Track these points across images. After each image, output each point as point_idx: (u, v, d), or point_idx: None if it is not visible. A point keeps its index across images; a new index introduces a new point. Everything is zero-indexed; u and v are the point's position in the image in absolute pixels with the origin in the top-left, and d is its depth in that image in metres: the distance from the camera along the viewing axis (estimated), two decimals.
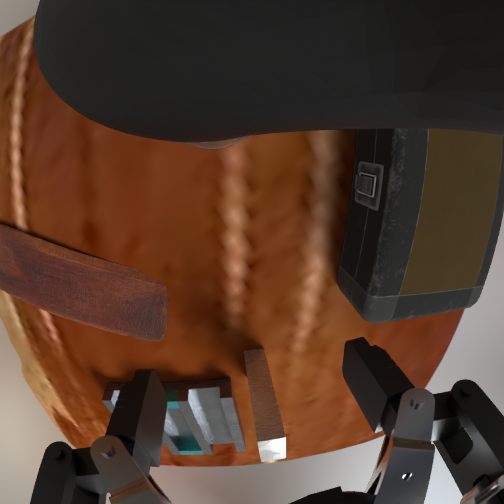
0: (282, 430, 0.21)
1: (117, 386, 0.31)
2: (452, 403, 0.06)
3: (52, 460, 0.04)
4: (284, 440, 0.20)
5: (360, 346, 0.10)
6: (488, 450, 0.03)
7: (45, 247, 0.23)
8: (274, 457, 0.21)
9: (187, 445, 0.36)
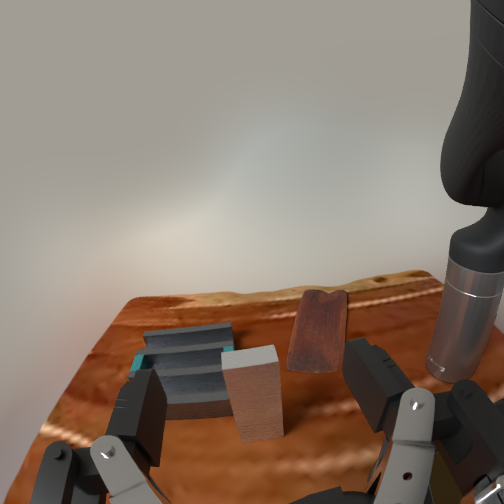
0: None
1: (233, 340, 0.46)
2: (452, 403, 0.06)
3: (52, 460, 0.04)
4: (271, 361, 0.23)
5: (360, 346, 0.10)
6: (488, 450, 0.03)
7: (343, 314, 0.49)
8: (229, 360, 0.23)
9: (144, 365, 0.38)
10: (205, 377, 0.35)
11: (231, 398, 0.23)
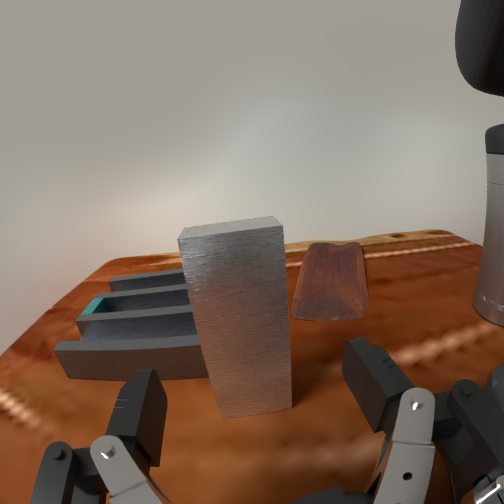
0: (283, 241, 0.13)
1: None
2: (452, 403, 0.06)
3: (52, 460, 0.04)
4: (270, 226, 0.13)
5: (360, 346, 0.10)
6: (488, 450, 0.03)
7: (360, 260, 0.40)
8: (195, 231, 0.14)
9: (102, 311, 0.28)
10: (175, 321, 0.25)
11: (196, 313, 0.14)
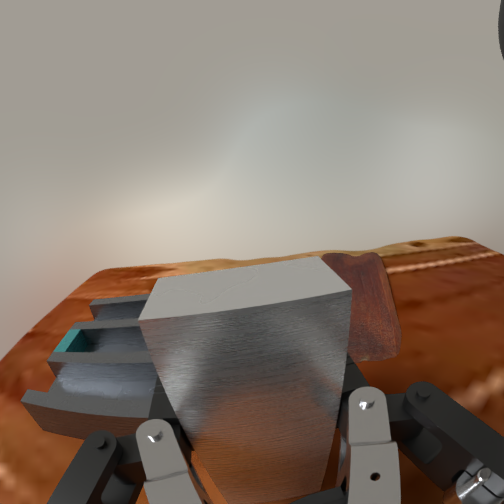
0: None
1: None
2: (409, 408, 0.06)
3: (92, 448, 0.05)
4: (327, 291, 0.06)
5: None
6: (460, 448, 0.04)
7: (384, 277, 0.33)
8: (175, 295, 0.07)
9: (79, 346, 0.22)
10: None
11: (188, 425, 0.07)
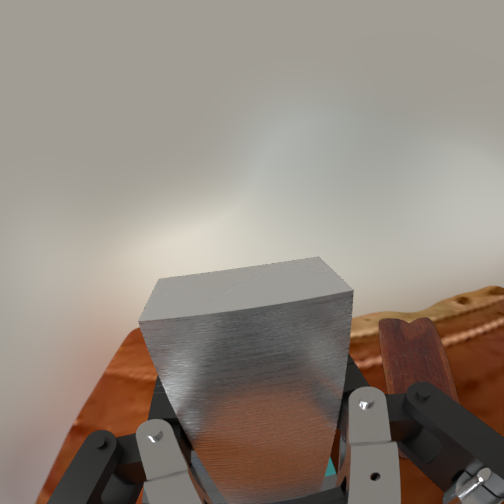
0: None
1: None
2: (409, 408, 0.06)
3: (92, 448, 0.05)
4: (328, 292, 0.06)
5: None
6: (460, 448, 0.04)
7: (443, 355, 0.29)
8: (175, 296, 0.07)
9: None
10: (286, 503, 0.14)
11: (188, 427, 0.07)
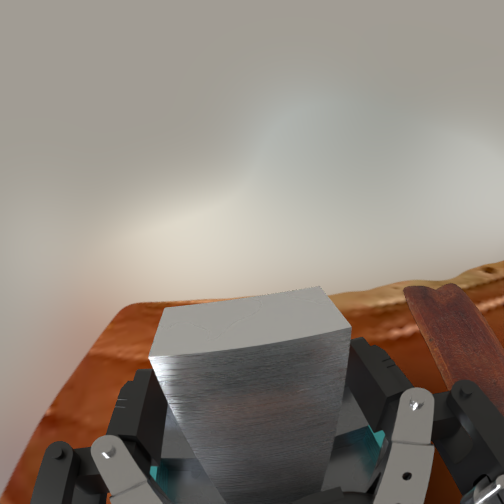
0: None
1: None
2: (451, 403, 0.06)
3: (53, 460, 0.04)
4: (328, 329, 0.06)
5: (359, 346, 0.10)
6: (488, 450, 0.03)
7: (482, 317, 0.23)
8: (183, 329, 0.07)
9: (162, 483, 0.11)
10: None
11: (195, 444, 0.07)
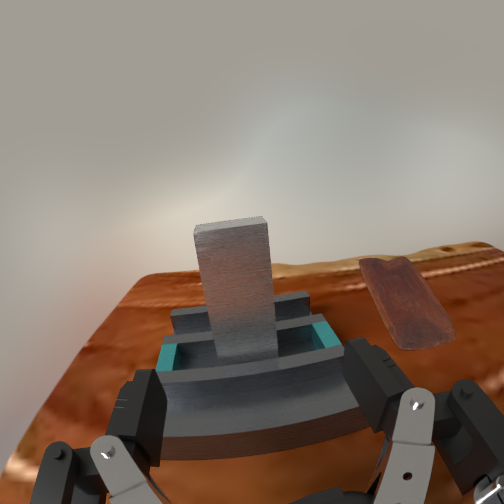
0: None
1: None
2: (452, 403, 0.06)
3: (52, 460, 0.04)
4: (258, 223, 0.18)
5: (360, 346, 0.10)
6: (488, 450, 0.03)
7: (422, 278, 0.36)
8: (205, 227, 0.19)
9: (178, 362, 0.23)
10: (297, 374, 0.20)
11: (205, 287, 0.19)
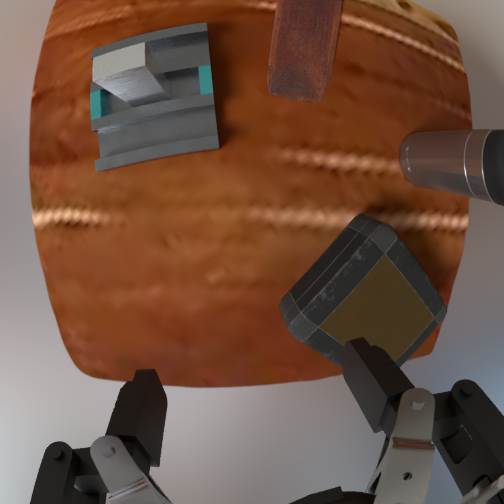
0: (147, 66, 0.18)
1: None
2: (452, 403, 0.06)
3: (52, 460, 0.04)
4: (138, 65, 0.17)
5: (360, 346, 0.10)
6: (488, 450, 0.03)
7: (336, 23, 0.28)
8: (100, 67, 0.17)
9: (103, 101, 0.28)
10: (179, 111, 0.29)
11: (110, 90, 0.21)
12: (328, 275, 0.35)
